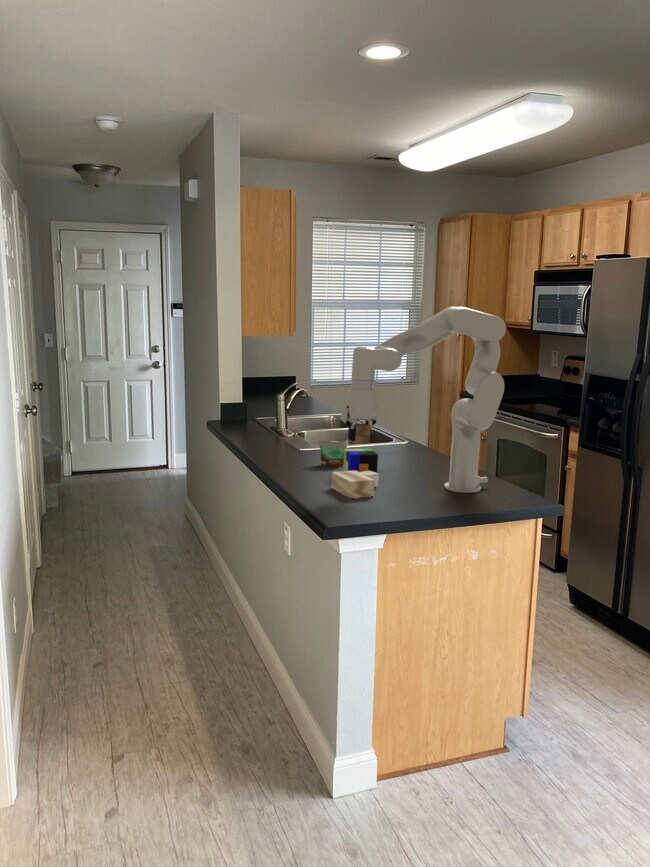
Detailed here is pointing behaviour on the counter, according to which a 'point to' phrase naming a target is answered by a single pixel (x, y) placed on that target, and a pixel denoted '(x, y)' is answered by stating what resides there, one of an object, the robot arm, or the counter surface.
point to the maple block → (353, 484)
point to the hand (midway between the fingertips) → (359, 439)
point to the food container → (332, 452)
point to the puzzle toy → (360, 460)
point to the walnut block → (362, 433)
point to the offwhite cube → (372, 476)
